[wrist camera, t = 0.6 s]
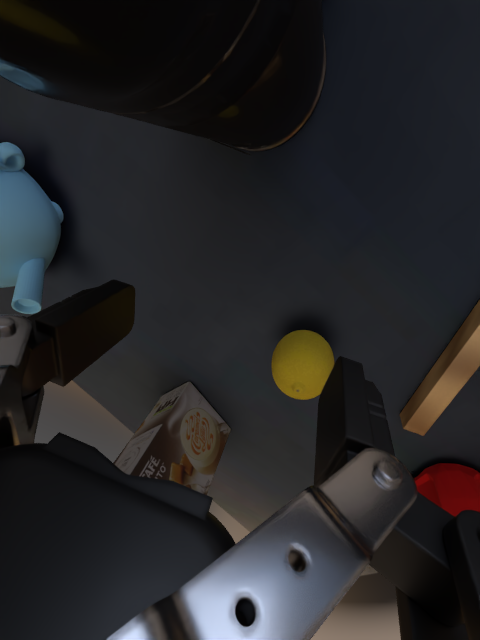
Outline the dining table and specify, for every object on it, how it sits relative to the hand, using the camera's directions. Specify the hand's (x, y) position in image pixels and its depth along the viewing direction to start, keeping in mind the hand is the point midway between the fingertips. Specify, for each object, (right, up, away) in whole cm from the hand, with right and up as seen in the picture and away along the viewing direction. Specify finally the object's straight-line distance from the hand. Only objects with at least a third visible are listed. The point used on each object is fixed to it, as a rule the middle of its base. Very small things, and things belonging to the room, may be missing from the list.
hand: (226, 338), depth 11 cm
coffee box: (-5, -12, +28) cm, 31 cm away
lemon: (+7, -1, +19) cm, 21 cm away
